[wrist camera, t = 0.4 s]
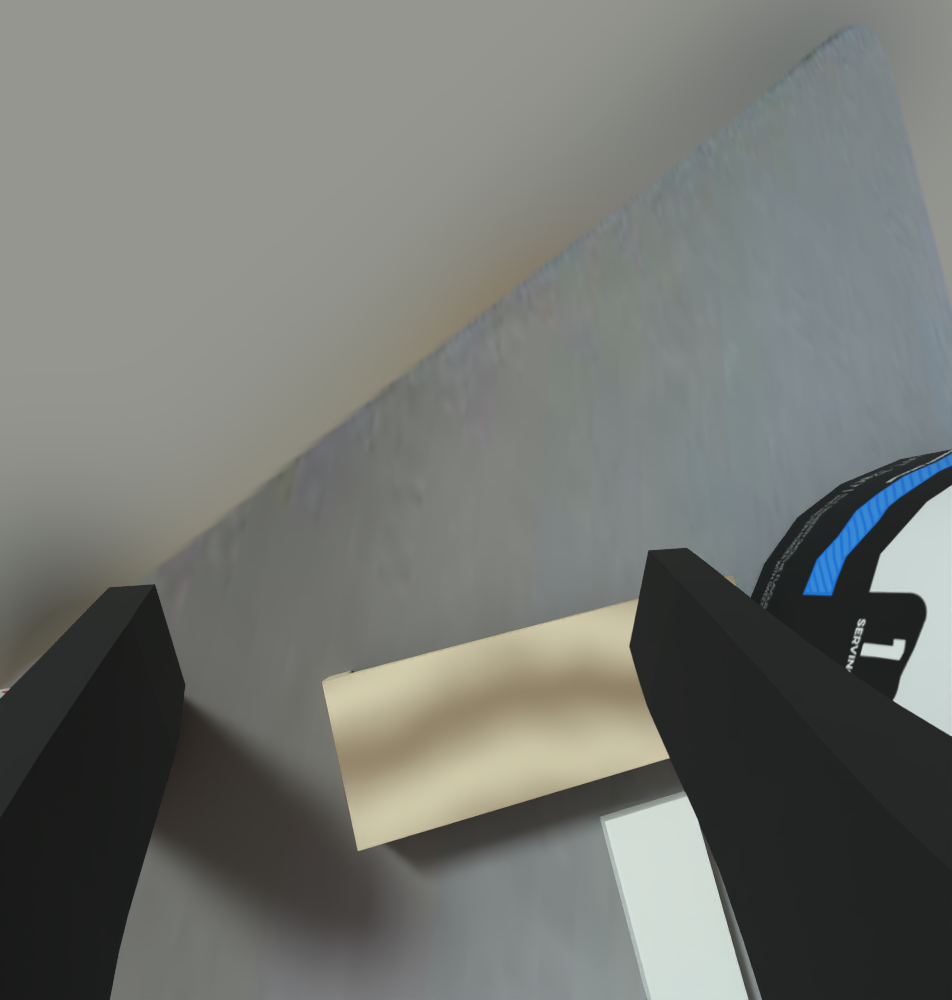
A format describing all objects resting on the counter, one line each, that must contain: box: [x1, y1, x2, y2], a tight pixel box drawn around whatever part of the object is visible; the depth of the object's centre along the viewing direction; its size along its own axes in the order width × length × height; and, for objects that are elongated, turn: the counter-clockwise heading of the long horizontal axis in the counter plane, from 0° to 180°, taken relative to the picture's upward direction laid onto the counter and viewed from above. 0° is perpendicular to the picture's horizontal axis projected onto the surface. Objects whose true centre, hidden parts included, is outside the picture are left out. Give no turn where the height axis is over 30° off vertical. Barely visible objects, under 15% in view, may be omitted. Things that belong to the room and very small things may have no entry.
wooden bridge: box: [322, 575, 736, 851], centre depth 37 cm, size 8×22×4 cm, turn 104°
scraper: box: [600, 791, 748, 1000], centre depth 34 cm, size 14×5×7 cm, turn 14°
